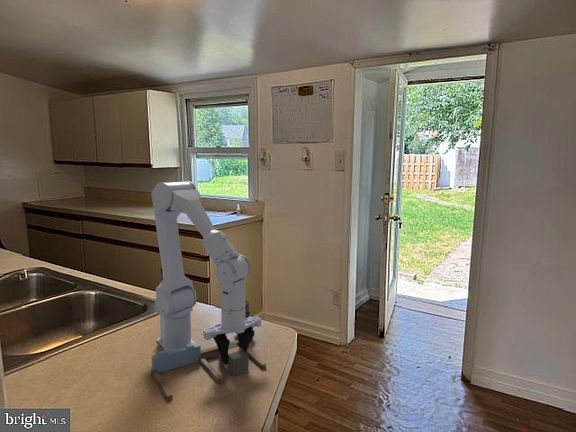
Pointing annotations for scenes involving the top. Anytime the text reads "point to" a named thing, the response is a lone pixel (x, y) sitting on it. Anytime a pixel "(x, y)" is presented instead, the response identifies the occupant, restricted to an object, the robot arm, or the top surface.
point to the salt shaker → (245, 316)
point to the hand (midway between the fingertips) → (233, 359)
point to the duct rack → (189, 362)
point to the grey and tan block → (236, 360)
